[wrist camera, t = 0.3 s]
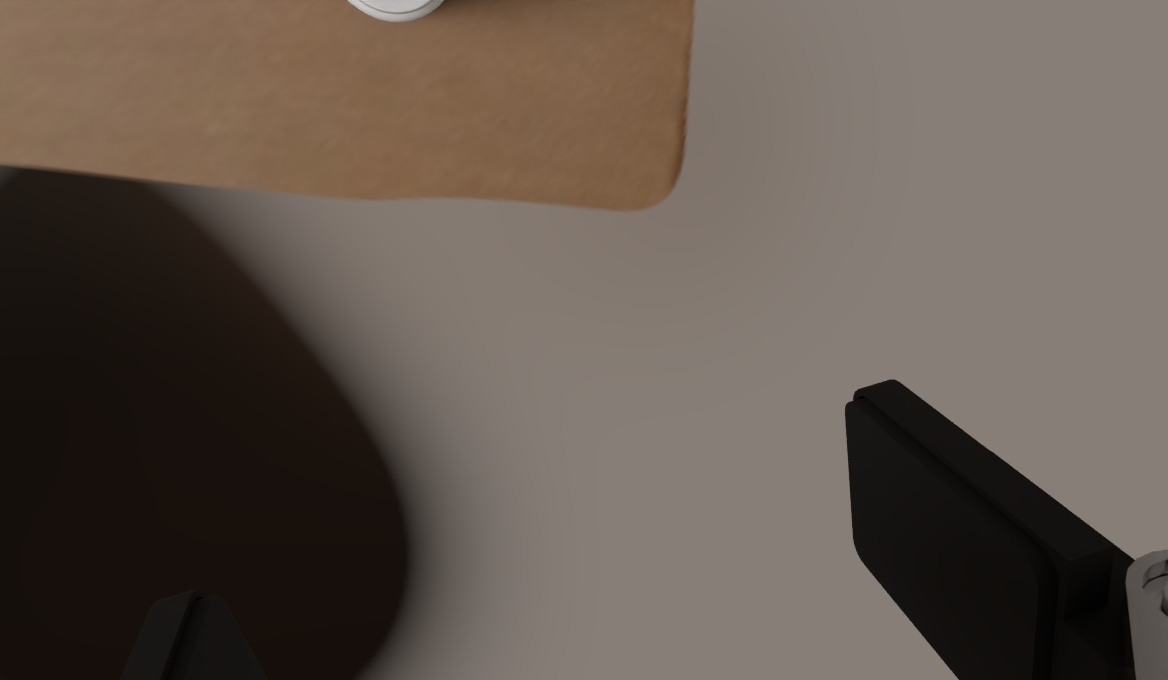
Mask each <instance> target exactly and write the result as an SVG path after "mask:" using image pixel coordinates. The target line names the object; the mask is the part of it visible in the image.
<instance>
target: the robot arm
mask: <svg viewBox="0 0 1168 680" xmlns="http://www.w3.org/2000/svg"><path fill="white" fill-rule="evenodd" d="M845 420H846V435H847V451H848V467H849V482H850V498H851V513H852V528H853V540H854V545H855V548H856V551H857V553H858V555H859V557H860V559H861V561H862V562H863V563H864V565H865V566H866V567H867V568H868V570H869V571H870V572H871V573H872V574H873V576H874V577H875V578H876V579H877V581H878V582H879V583H880V584H881V585H882V587H883V588H884V589H885V590H886V592H887V593H888V594H889V595H890V596H891V598H892V599H893V600H894V601H895V603H896V604H897V605H898V606H899V607H900V609H901V610H902V611H903V612H904V613H905V615H906V616H907V617H908V618H909V620H910V621H911V622H912V623H913V624H914V626H915V627H916V628H917V629H918V631H919V632H920V633H921V634H922V635H923V637H924V638H925V639H926V640H927V642H928V643H929V644H930V645H931V646H932V648H933V649H934V650H935V651H936V652H937V653H938V655H939V656H940V657H941V659H942V660H943V661H944V662H945V663H946V665H947V666H948V667H949V668H950V670H952V672H953V673H954V674H955V676H956V677H957V678H958V679H959V680H1168V550H1162V551H1155V552H1151V553H1149V554H1146V555H1144V556H1142V557H1140V558H1137V559H1136V560H1134V559H1133V558H1131V557H1130V556H1129V555H1127V554H1126V553H1125V552H1123V551H1122V550H1121V549H1120V548H1118V547H1117V546H1115V545H1114V544H1113V543H1112V542H1110V541H1109V540H1108V539H1106V538H1105V537H1104V536H1102V535H1101V534H1100V533H1098V532H1097V531H1096V530H1094V529H1093V528H1092V527H1090V526H1089V525H1088V524H1086V523H1085V522H1084V521H1083V520H1081V519H1080V518H1079V517H1077V516H1076V515H1074V514H1073V513H1072V512H1071V511H1069V510H1068V509H1067V508H1066V507H1064V506H1063V505H1062V504H1060V503H1059V502H1058V501H1056V500H1055V499H1054V498H1052V497H1051V496H1050V495H1048V494H1047V493H1046V492H1044V491H1043V490H1042V489H1040V488H1039V487H1038V486H1036V485H1035V484H1034V483H1033V482H1031V481H1030V480H1029V479H1027V478H1026V477H1025V476H1023V475H1022V474H1021V473H1019V472H1018V471H1017V470H1015V469H1014V468H1013V467H1012V466H1010V465H1009V464H1008V463H1006V462H1005V461H1003V460H1002V459H1001V458H1000V457H998V456H997V455H996V454H994V453H993V452H991V451H990V450H988V449H987V448H986V447H984V446H983V445H982V444H980V443H979V442H978V441H976V440H975V439H974V438H972V437H971V436H970V435H968V434H967V433H966V432H964V431H963V430H962V429H961V428H959V427H958V426H957V425H955V424H954V423H953V422H951V421H950V420H949V419H947V418H946V417H945V416H943V415H942V414H941V413H940V412H938V411H937V410H936V409H934V408H933V407H932V406H930V405H929V404H928V403H926V402H925V401H924V400H922V399H921V398H920V397H918V396H917V395H916V394H915V393H913V392H912V391H910V390H909V389H908V388H907V387H905V386H904V385H903V384H901V383H900V382H898V381H896V380H887V381H884V382H881V383H877V384H874V385H871V386H867V387H864V388H861V389H858V390H857V391H855V393H854V396H853V401H851V402H848V403H847V404H846V407H845ZM120 680H268V679H267V678H266V676H265V674H264V672H263V670H262V669H261V667H260V665H259V663H258V661H257V660H256V658H255V656H254V654H253V653H252V651H251V649H250V647H249V645H248V643H247V642H246V640H245V638H244V636H243V635H242V633H241V631H240V629H239V628H238V625H237V624H236V622H235V620H234V618H233V616H232V615H231V613H230V611H229V609H228V607H227V606H226V604H225V602H224V601H223V599H222V598H221V597H220V596H219V595H212V596H208V594H207V593H206V592H205V591H203V590H202V589H196V590H192V591H189V592H186V593H183V594H179V595H176V596H172V597H170V598H166V599H163V600H159V601H157V602H156V603H154V604H153V605H152V607H151V608H150V610H149V613H148V615H147V617H146V620H145V622H144V624H143V627H142V629H141V632H140V634H139V636H138V639H137V641H136V643H135V645H134V648H133V650H132V653H131V655H130V657H129V659H128V662H127V664H126V667H125V669H124V671H123V674H122V676H121V678H120Z"/></svg>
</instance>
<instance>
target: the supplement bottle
mask: <svg viewBox="0 0 1168 680" xmlns="http://www.w3.org/2000/svg"><path fill="white" fill-rule="evenodd" d="M348 1H349V2H350V3H351V4H352V5H353V6H354V7H356V8H357V9H359V10H360V11H362V12H363V13H365V14H367V15H369V16H371V17H374V18H376V19H380V20H384V21H389V22H407V21H412V20H416V19H419V18H421V17H424V16H426V15H428V14H429V13H431V12H432V11H434V10H435V9H436V8H437V7H438V6H440V5H441V3H442V2H443V1H444V0H348Z"/></svg>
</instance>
